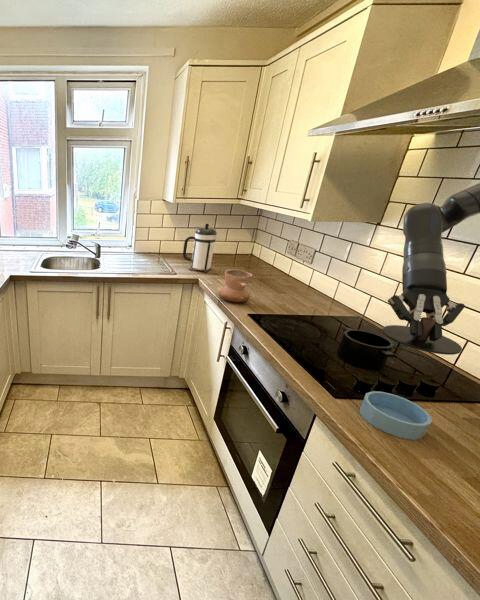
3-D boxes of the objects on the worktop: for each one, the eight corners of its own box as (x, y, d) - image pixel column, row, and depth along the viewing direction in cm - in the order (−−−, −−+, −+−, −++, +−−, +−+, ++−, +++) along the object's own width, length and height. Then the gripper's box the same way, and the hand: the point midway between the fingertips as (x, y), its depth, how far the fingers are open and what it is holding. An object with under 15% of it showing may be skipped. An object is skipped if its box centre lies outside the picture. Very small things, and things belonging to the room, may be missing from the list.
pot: (357, 346, 116) (365, 326, 113) (401, 375, 100) (412, 352, 97) (323, 346, 117) (330, 325, 113) (361, 375, 100) (371, 352, 97)
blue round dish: (392, 404, 87) (399, 391, 86) (439, 440, 76) (447, 425, 74) (347, 404, 88) (353, 390, 86) (386, 439, 76) (393, 424, 74)
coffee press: (205, 266, 215) (212, 221, 203) (216, 273, 200) (224, 225, 188) (180, 266, 214) (186, 221, 202) (189, 273, 199) (196, 225, 188)
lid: (419, 329, 83) (429, 308, 81) (478, 357, 70) (492, 333, 68) (367, 328, 83) (375, 307, 81) (416, 356, 71) (428, 332, 68)
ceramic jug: (255, 306, 151) (262, 278, 145) (225, 305, 151) (230, 277, 146) (239, 293, 167) (244, 267, 162) (211, 292, 168) (216, 267, 162)
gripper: (451, 285, 80) (455, 349, 75) (380, 278, 86) (379, 337, 80) (473, 271, 74) (479, 340, 68) (395, 263, 79) (395, 327, 74)
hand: (425, 338), depth 74 cm, fingers closed on lid, 2 cm apart
